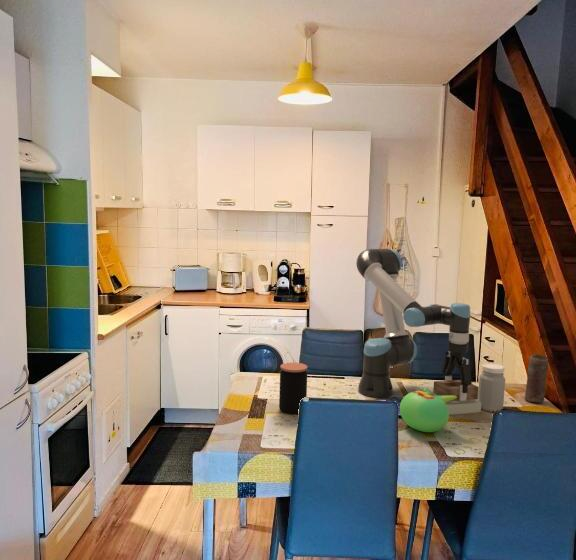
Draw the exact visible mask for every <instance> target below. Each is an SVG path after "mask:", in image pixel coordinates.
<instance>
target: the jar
mask: <svg viewBox="0 0 576 560" xmlns="http://www.w3.org/2000/svg"><path fill="white" fill-rule="evenodd" d="M504 372H505V366H504V365H500V364H497V363H490V362H489V363H488V362H486V363H483V364H482V365H481V374H480V375H479V377H478V379H479V380H478V399H477V400H478V401H479V402H481V410H482V411H486V412H489V413H494V412H493V411H495V410H500V409H502V410H503V409H504V404H505V403H504V400H505V388H506V378H505V376H504V375H505V374H504Z"/></svg>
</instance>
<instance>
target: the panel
mask: <svg viewBox="0 0 576 560" xmlns="http://www.w3.org/2000/svg"><path fill="white" fill-rule="evenodd" d="M446 405H447V407H448V410H449V416H451V415H460V414H473V413H474V414H476V413H482V411H481V410H482V409H481V402H479V401H478V399H476V400H464V401H448V402H446Z"/></svg>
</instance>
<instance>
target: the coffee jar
mask: <svg viewBox="0 0 576 560" xmlns="http://www.w3.org/2000/svg"><path fill="white" fill-rule="evenodd" d="M307 370H308V366H307V364H305V363H301V362H285V363H282V364H280V372H279V399H278V401H279V403H278V406H279V410H280V412H281V413H283V414H285V415H290V416H297V415H299V414H298V409H299V403H300V400H301V399H302V398H304V397H307V396H308V394H307V390H308V372H307Z"/></svg>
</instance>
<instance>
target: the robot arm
mask: <svg viewBox="0 0 576 560" xmlns="http://www.w3.org/2000/svg"><path fill="white" fill-rule="evenodd" d="M402 261H403V259H402V257H401V255H400V254H399V252H398V251H396V250H395V249H392V248H368V249H365V250H363V251H362V252H360V253H359V255H358V256H357V258H356V268H357V269H356V270H358V273H359V274H360V275H361V277H362V278H363V279H365V280H366V281H368V282H369V281H370V282H371V284H372V285H374V287H376V288H377V290H378V292H379V298H380V304H381V310H382V316H383V322H384V323H383V324H384V329H385V334H384V335H383V337H378V338H376V337H374V338H370V339H368V340H366V341H365V342H364V345H363V346H364V347H363V365H362V366H363V367H362V375H361V378H360V381H359V383H358V387H357V388H358V389H357V391H358V393H359V394H361V395H363V396H367V397H369V398H370V397H371V398H387V397H390V396H392V395H393V394H394V393H393V392H394V387H393V385H392V381H391V380H392V379H391V376H390V375H391V372H390V371H391V368H392V367H397V366H404V365H407V364H410V363H412V362H413V361H414V360H415V359H416V357H417V353H418V348H417V344H416V342H415V341H414V340H413V339H412V338H411V337H410V334H409V333H408V331H406V329H405V325H406V326H408V327H410V328H419V327H423V326H424V327H425V326H433V325H438V324H439V325H443V326H449V327H448V328H449V330H448V331H449V333H448V344H447V345H448V347H447V350H448V351H445V357H444V360H443V361H444V362H443V366H442V370H441V372H442V374H444V375H443V376H444V381H451V380H453V371H454V369H455V367H456V368H457V370H458V374H459V378H460V379H459V380H461V384H460V396H459V400H460V401H464V400H466V398H467V388H468V385H471V384H473V382H472V373H471V359H469V358H466V354H467V353H468V352H469V341H470V322H471V307H470V305H469V304H466V303H461V302H459V303H457V302H454V303H451V304H450V306H445V305H440V304H433V303H429V304H428V305H427V306H422V305H421V304H420V303H418V302H417V300H415V298H413V297H412V296H411V295H410V294H409V293H408V292H407V291H406V290H405V289H404V288H403V287H402V286H401V285H400V283H398V281H397V279H398V278H399V276H400V274H399V272H400V271H401V270H402V268H401V267H402V266H403V262H402Z"/></svg>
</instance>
